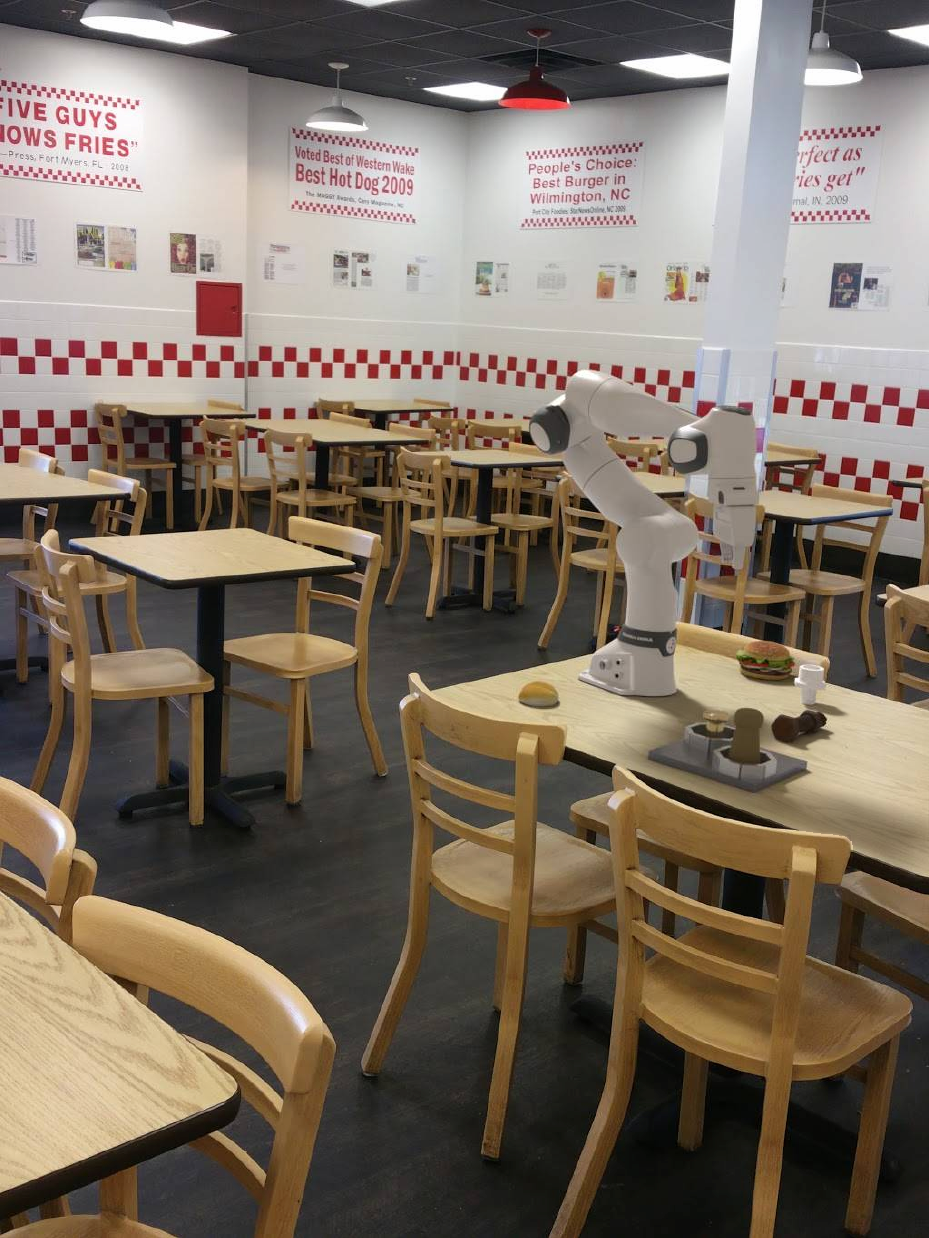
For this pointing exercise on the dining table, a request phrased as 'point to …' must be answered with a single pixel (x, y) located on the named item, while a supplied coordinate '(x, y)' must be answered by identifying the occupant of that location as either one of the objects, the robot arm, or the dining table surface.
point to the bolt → (797, 725)
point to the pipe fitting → (810, 682)
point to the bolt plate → (724, 756)
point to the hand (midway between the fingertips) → (732, 566)
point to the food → (765, 660)
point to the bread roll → (538, 694)
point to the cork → (746, 736)
